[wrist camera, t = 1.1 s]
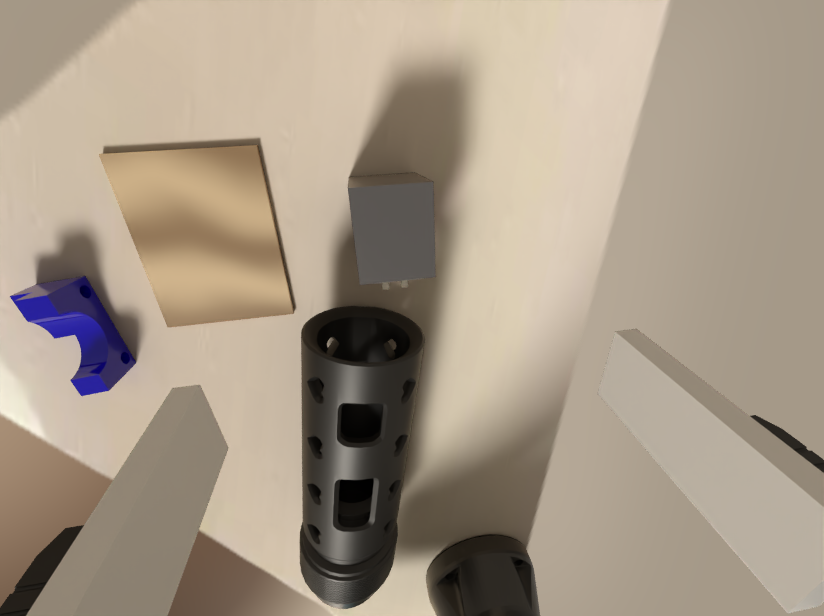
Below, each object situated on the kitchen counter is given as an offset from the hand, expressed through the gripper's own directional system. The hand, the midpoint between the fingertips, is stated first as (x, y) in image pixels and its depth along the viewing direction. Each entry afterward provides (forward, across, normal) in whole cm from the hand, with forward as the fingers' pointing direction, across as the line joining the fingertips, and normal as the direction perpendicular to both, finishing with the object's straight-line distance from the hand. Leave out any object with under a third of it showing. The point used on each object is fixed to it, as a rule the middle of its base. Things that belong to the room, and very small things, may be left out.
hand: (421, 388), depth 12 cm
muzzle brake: (+18, +5, +20) cm, 28 cm away
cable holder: (+19, +24, +6) cm, 31 cm away
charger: (+20, 0, -1) cm, 20 cm away
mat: (+19, +13, 0) cm, 23 cm away
